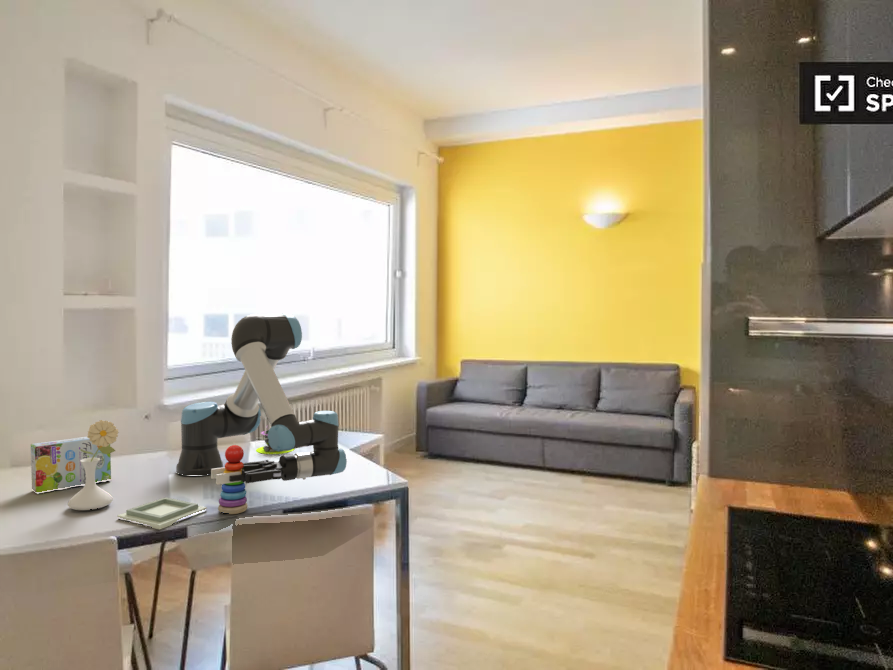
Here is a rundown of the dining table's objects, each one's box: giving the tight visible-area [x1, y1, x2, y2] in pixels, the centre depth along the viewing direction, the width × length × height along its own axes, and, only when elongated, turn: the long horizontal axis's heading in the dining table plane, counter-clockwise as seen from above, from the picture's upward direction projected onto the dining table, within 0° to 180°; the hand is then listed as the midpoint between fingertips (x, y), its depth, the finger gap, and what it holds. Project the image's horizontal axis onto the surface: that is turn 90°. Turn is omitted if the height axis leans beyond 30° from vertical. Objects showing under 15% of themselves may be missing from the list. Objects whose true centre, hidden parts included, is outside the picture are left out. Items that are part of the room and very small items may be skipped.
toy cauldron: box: [255, 424, 296, 455], centre depth 257 cm, size 15×15×11 cm
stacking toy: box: [217, 444, 249, 515], centre depth 183 cm, size 8×8×19 cm
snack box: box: [30, 436, 112, 492], centre depth 204 cm, size 21×6×15 cm, turn 134°
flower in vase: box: [67, 419, 120, 511], centre depth 185 cm, size 13×11×25 cm
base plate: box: [117, 496, 207, 530], centre depth 179 cm, size 16×16×2 cm
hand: (214, 476), depth 181 cm, fingers closed on stacking toy, 6 cm apart
